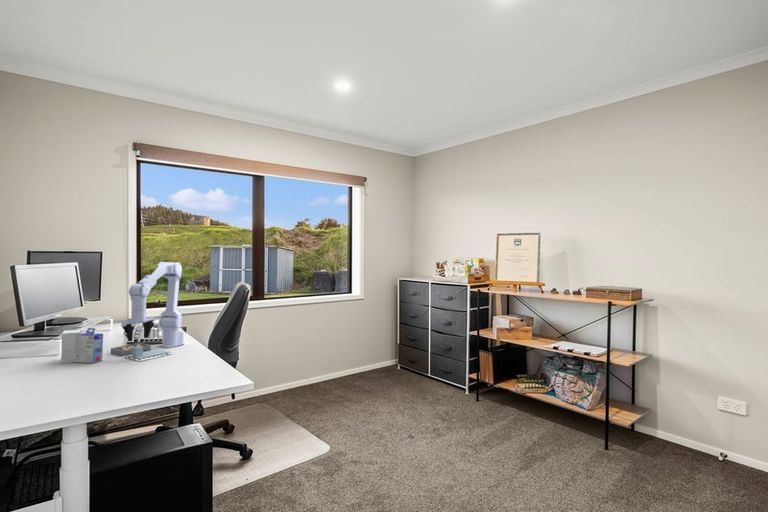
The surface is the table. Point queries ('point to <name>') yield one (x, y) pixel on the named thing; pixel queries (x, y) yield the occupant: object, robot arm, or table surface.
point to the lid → (145, 353)
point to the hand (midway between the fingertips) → (138, 339)
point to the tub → (129, 349)
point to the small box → (69, 345)
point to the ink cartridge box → (89, 347)
